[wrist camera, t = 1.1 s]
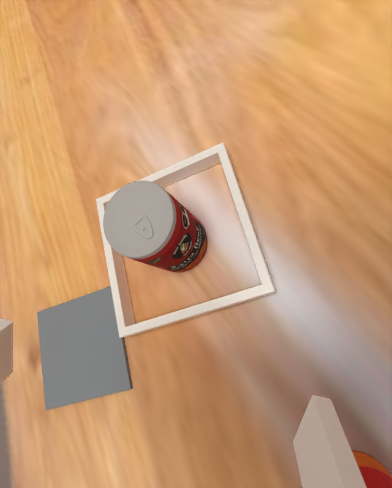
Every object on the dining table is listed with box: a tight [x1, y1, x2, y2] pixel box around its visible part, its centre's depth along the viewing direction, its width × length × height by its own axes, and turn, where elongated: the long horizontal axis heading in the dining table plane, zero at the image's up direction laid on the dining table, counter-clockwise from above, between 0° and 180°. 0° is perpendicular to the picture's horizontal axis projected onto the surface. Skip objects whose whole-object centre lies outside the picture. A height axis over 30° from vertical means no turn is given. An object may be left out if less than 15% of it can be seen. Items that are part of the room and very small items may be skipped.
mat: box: [37, 286, 132, 410], centre depth 40 cm, size 13×13×1 cm
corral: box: [96, 143, 276, 338], centre depth 37 cm, size 19×19×2 cm
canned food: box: [103, 180, 207, 272], centre depth 33 cm, size 8×8×11 cm
